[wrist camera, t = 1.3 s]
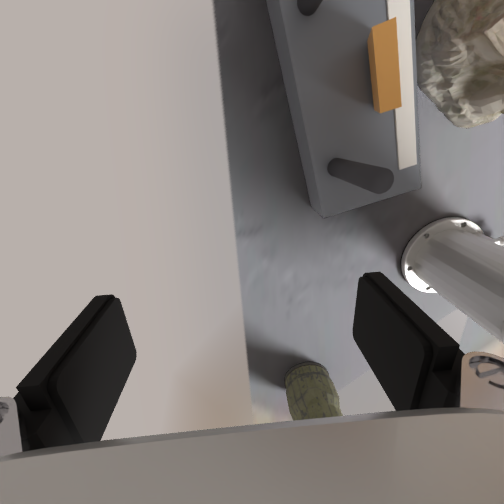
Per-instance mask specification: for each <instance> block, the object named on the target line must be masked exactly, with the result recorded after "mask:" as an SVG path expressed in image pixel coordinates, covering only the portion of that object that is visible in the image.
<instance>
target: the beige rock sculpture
mask: <svg viewBox="0 0 504 504" xmlns="http://www.w3.org/2000/svg"><path fill="white" fill-rule="evenodd" d="M416 66H417V82H418V85H419V87H420V88H421V91H422V92H424V93H425V94H426V95H427V97H428V98H429V99H431V100H432V102H433V103H435V104H436V106H437V107H438V109H439V110H440V111H441V112H442V113H444V114H445V116H446V117H447V118H448V119H449V120H450V121H451V122H452V123H453V124H454V125H455V126H457V127H461V128H466V129H467V128H471V127H475V126H478V125H481V124H485V123H488V122H492V121H494V120H495V119H497V118H498V117H499V116H500V115H501V113H502V114H504V0H435V1H434V3H433V5H432V6H431V8H430V9H429V11H428V13H427V15H426V17H425V19H424V21H423V23H422V26H421V28H420V32H419V33H418V35H417V38H416Z"/></svg>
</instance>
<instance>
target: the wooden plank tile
mask: <svg viewBox="0 0 504 504" xmlns="http://www.w3.org/2000/svg"><path fill="white" fill-rule="evenodd" d="M367 44H368V54H369V64H370V74H371V84H372V94H373V104H374V111H376V112H378V113H383V112H386V111H389V110H393V109H396V108H399V107H402V103H401V87H400V71H399V54H398V38H397V21H396V17H394V18H392V19H390V20H387V21H385V22H383V23H380V24H378V25H376V26H373V27H372V29H371V32H370V34H369V37H368V40H367Z"/></svg>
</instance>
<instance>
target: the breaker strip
mask: <svg viewBox="0 0 504 504" xmlns="http://www.w3.org/2000/svg"><path fill="white" fill-rule="evenodd" d="M266 3H267V7H268V12H269V17H270V21H271V26H272V30H273V35H274V39H275V44H276V48H277V53H278V57H279V62H280V67H281V71H282V76H283V80H284V85H285V89H286V94H287V98H288V103H289V108H290V112H291V117H292V121H293V126H294V130H295V135H296V139H297V144H298V149H299V153H300V158H301V162H302V167H303V171H304V176H305V180H306V185H307V190H308V194H309V199H310V203H311V207H312V208H313V209H314V210H315V211H316V212H317V213H318V214H319V215H320V216H321V217H322V218H327V217H330V216H333V215H336V214H340V213H343V212H346V211H349V210H352V209H356V208H359V207H362V206H365V205H368V204H371V203H375V202H378V201H381V200H384V199H387V198H391V197H394V196H397V195H400V194H403V193H407V192H410V191H413V190H416V189H419V188H421V171H420V145H419V119H418V93H417V66H416V40H415V14H414V0H323V1H322V2H321V4H320V5H319V7H318V8H317V10H316V11H315V13H313V14H312V15H310V16H305V15H303V14H302V13H301V12H300V11H299V9H298V6H297V0H266ZM394 17H396V21H397V38H398V54H399V71H400V87H401V103H402V107H399V108H396V109H393V110H389V111H386V112H383V113H378V112H376V111H374V104H373V94H372V84H371V74H370V64H369V54H368V44H367V40H368V37H369V34H370V32H371V29H372V27H373V26H376V25H378V24H380V23H383V22H385V21H387V20H390V19H392V18H394ZM334 158H341V159H346V160H350V161H355V162H360V163H365V164H369V165H374V166H379V167H383V168H388V169H390V170H391V171H392V172H393V175H394V182H393V185H392V186H391V188H390V189H389V190H388V191H386V192H385V193H382V194H376V193H373V192H371V191H368V190H366V189H363V188H361V187H358V186H356V185H353V184H351V183H348V182H346V181H344V180H341V179H339V178H336V177H334V176H331V175H330V174H329V173H328V170H327V167H328V164H329V162H330V161H331V160H332V159H334Z"/></svg>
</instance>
